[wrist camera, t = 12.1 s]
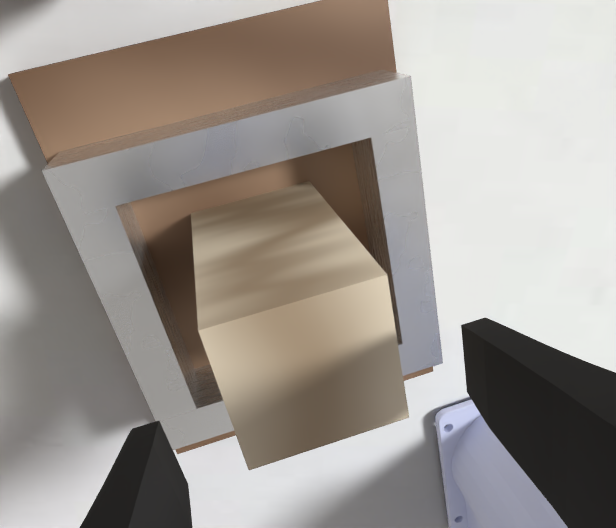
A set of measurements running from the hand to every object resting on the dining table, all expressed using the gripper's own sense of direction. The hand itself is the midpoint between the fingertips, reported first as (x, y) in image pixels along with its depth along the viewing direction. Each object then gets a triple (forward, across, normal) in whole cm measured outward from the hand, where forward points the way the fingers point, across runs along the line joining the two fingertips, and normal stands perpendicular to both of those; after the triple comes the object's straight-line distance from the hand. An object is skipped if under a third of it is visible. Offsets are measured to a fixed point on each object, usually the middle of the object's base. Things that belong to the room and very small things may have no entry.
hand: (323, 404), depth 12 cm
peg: (+9, 0, 0) cm, 9 cm away
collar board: (+10, 0, 0) cm, 10 cm away
